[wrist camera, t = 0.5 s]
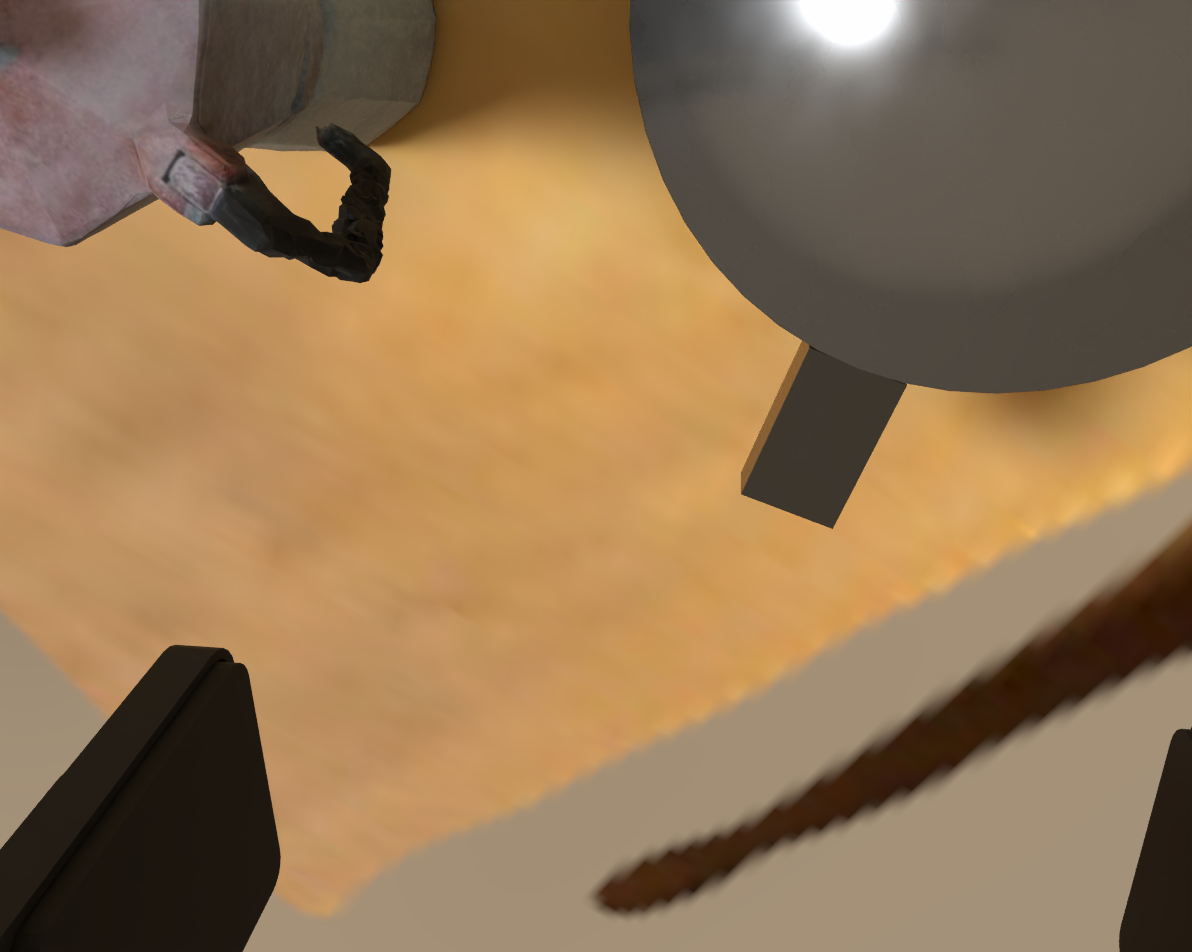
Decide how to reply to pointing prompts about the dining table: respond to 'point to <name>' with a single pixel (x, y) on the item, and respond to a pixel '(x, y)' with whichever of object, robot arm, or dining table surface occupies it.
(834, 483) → the cooker pot
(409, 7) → the moka pot
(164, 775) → the robot arm
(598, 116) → the dining table surface
